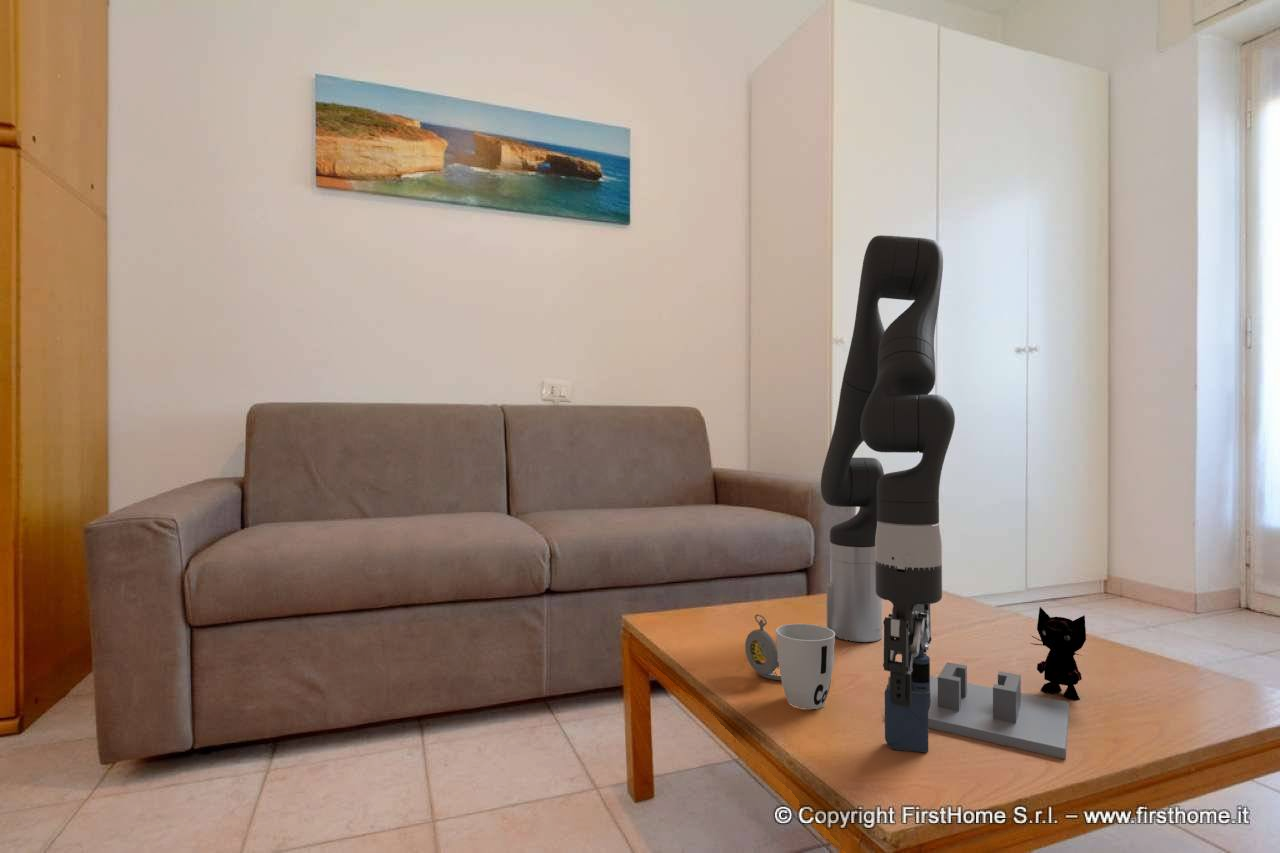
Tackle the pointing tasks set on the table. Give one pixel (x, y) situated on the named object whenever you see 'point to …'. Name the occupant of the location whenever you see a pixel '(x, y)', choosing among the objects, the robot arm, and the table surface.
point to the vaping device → (910, 711)
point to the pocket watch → (762, 651)
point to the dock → (997, 712)
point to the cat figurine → (1060, 652)
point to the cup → (805, 663)
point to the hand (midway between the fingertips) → (909, 693)
